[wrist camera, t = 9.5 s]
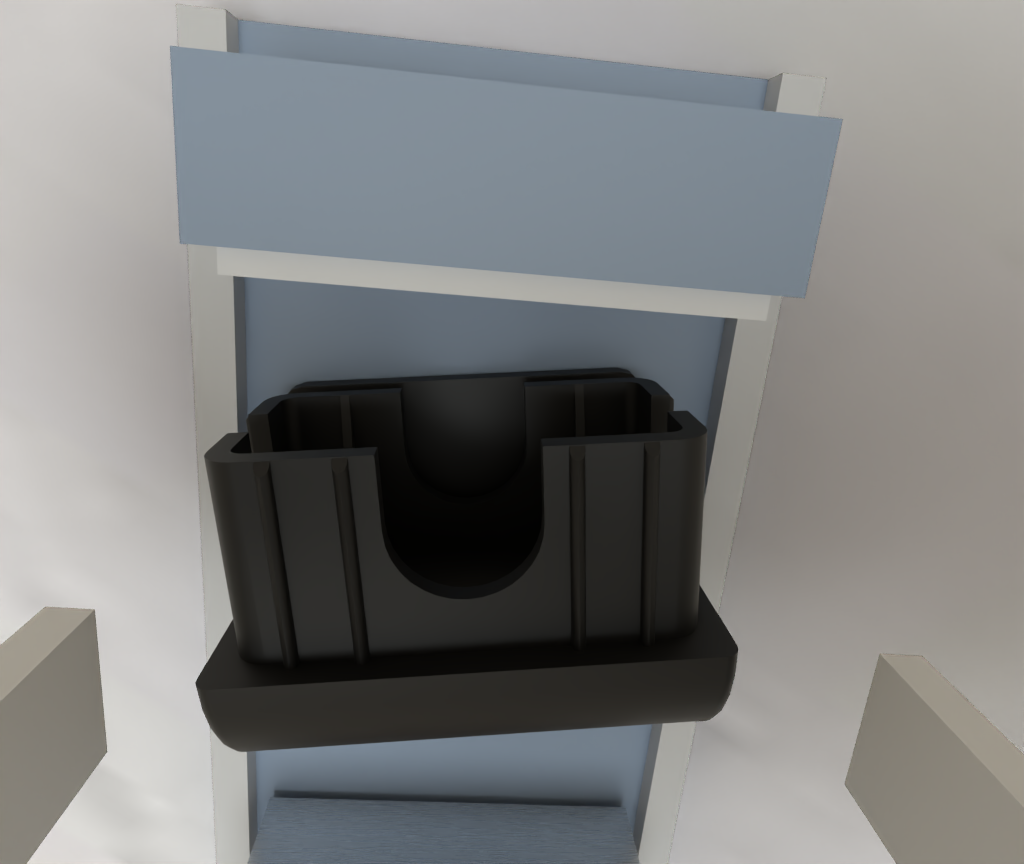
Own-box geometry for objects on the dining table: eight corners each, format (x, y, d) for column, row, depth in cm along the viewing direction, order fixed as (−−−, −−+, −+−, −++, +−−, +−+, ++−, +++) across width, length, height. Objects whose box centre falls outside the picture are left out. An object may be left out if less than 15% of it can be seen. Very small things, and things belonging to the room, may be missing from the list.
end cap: (301, 626, 20) (217, 826, 13) (266, 382, 18) (145, 480, 11) (649, 604, 20) (733, 789, 14) (656, 364, 18) (759, 448, 12)
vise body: (787, 93, 17) (950, 29, 11) (638, 884, 25) (690, 1092, 19) (211, 28, 16) (59, -79, 10) (239, 876, 24) (163, 1095, 18)
